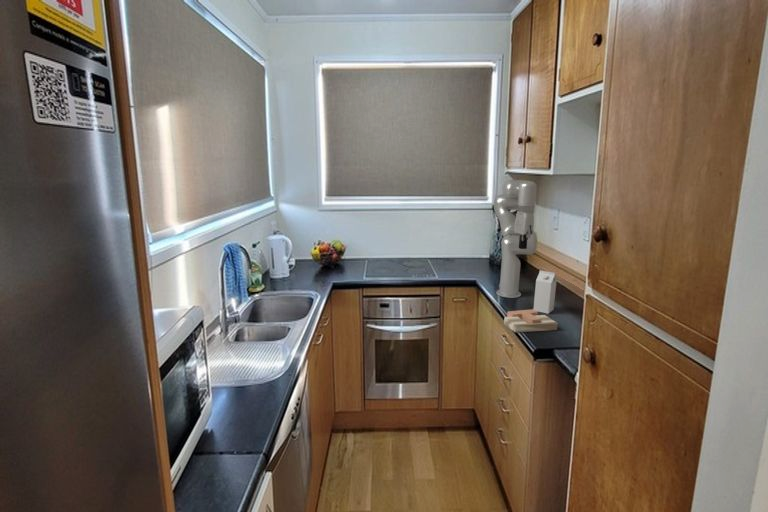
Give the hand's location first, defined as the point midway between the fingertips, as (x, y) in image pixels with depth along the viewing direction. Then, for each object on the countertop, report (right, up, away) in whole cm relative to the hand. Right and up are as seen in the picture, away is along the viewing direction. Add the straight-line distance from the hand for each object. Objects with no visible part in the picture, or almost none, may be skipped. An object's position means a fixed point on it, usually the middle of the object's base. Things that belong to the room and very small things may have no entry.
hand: (522, 248), depth 204 cm
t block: (-3, -33, -15) cm, 36 cm away
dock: (-3, -34, -19) cm, 39 cm away
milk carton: (+11, -30, +2) cm, 31 cm away
